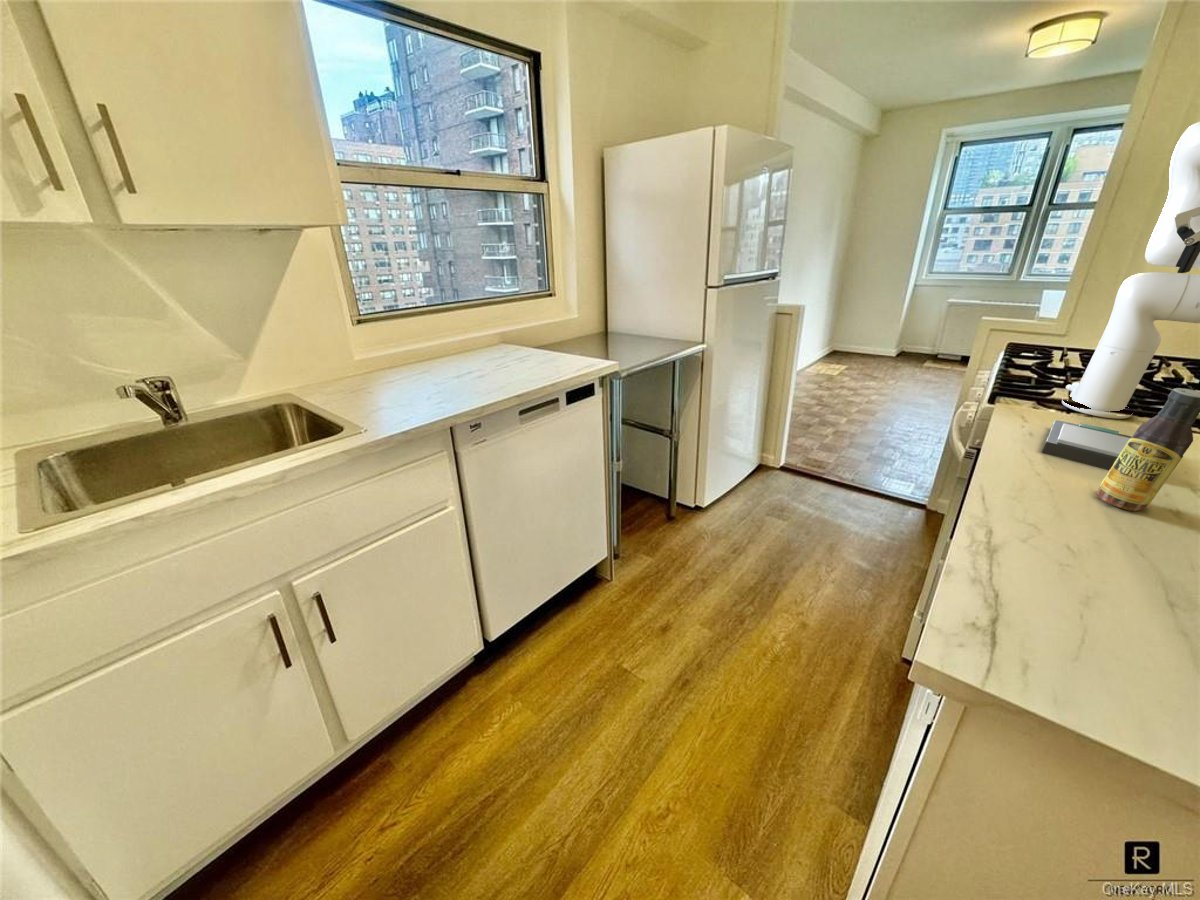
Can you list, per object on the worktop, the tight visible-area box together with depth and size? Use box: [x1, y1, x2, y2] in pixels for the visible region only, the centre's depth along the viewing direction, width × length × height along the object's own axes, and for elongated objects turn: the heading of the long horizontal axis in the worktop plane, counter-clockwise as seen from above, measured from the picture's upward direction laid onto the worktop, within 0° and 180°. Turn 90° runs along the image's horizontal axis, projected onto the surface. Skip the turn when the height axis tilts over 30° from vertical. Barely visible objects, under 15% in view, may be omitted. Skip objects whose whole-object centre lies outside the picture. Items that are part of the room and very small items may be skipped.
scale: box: [1041, 419, 1133, 471], centre depth 97 cm, size 16×14×3 cm
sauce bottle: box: [1096, 387, 1200, 512], centre depth 76 cm, size 6×6×20 cm
